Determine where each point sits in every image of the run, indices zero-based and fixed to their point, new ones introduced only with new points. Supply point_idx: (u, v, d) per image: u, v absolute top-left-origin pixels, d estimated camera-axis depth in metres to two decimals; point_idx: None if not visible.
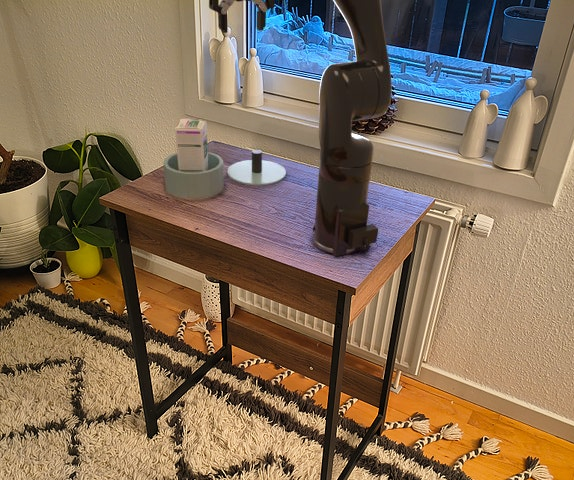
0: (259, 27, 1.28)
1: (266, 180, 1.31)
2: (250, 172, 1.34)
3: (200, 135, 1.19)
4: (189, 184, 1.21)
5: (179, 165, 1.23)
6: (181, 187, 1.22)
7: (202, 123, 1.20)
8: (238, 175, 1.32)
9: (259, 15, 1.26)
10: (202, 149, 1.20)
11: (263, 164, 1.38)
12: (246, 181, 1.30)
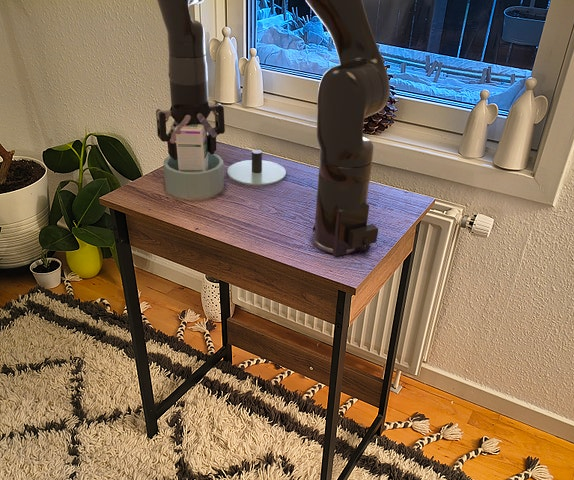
0: (210, 151, 1.25)
1: (266, 180, 1.31)
2: (250, 172, 1.34)
3: (200, 135, 1.19)
4: (189, 184, 1.21)
5: (179, 165, 1.23)
6: (181, 187, 1.22)
7: None
8: (238, 175, 1.32)
9: (209, 140, 1.24)
10: (202, 149, 1.20)
11: (263, 164, 1.38)
12: (246, 181, 1.30)
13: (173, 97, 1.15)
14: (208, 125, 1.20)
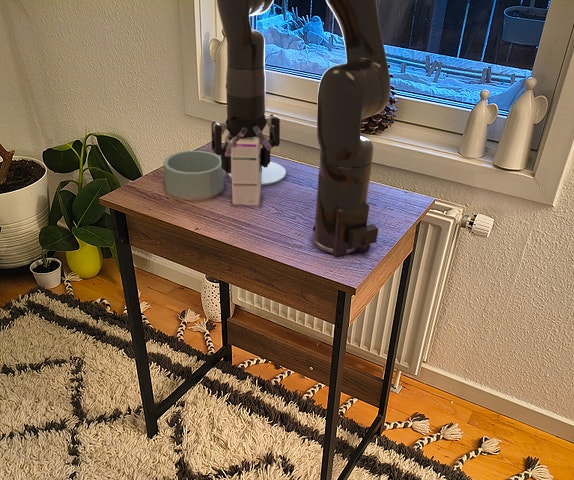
0: (263, 164, 1.21)
1: (266, 180, 1.31)
2: None
3: (256, 148, 1.15)
4: (189, 184, 1.21)
5: (233, 179, 1.19)
6: (181, 187, 1.22)
7: None
8: None
9: (263, 153, 1.20)
10: (257, 162, 1.17)
11: None
12: None
13: (230, 110, 1.11)
14: (264, 138, 1.16)
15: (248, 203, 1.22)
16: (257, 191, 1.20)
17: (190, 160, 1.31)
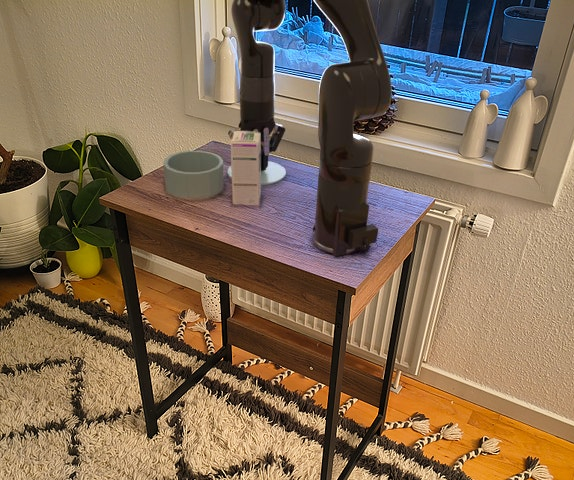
0: (262, 167, 1.34)
1: (266, 180, 1.31)
2: None
3: (256, 148, 1.15)
4: (189, 184, 1.21)
5: (233, 179, 1.19)
6: (181, 187, 1.22)
7: (257, 135, 1.17)
8: None
9: (262, 157, 1.33)
10: (257, 162, 1.17)
11: None
12: None
13: (243, 113, 1.24)
14: (267, 142, 1.30)
15: (248, 203, 1.22)
16: (257, 191, 1.20)
17: (190, 160, 1.31)
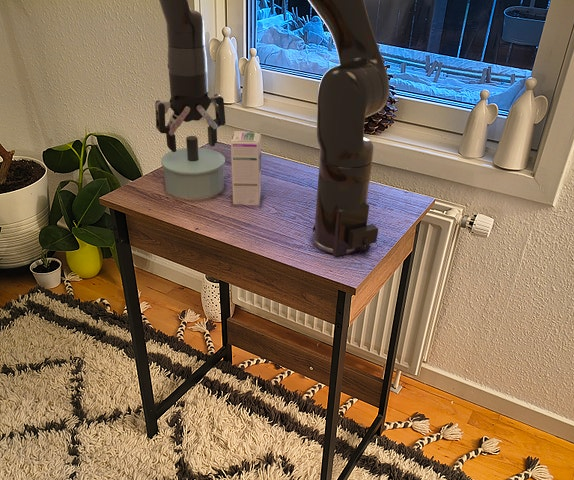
0: (210, 143, 1.24)
1: (201, 169, 1.21)
2: (186, 160, 1.24)
3: (256, 148, 1.15)
4: (189, 184, 1.21)
5: (233, 179, 1.19)
6: (181, 187, 1.22)
7: (258, 136, 1.17)
8: (172, 163, 1.22)
9: (210, 132, 1.23)
10: (258, 162, 1.17)
11: (202, 152, 1.28)
12: (179, 170, 1.20)
13: (172, 89, 1.14)
14: (208, 117, 1.19)
15: (248, 203, 1.22)
16: (257, 191, 1.20)
17: None
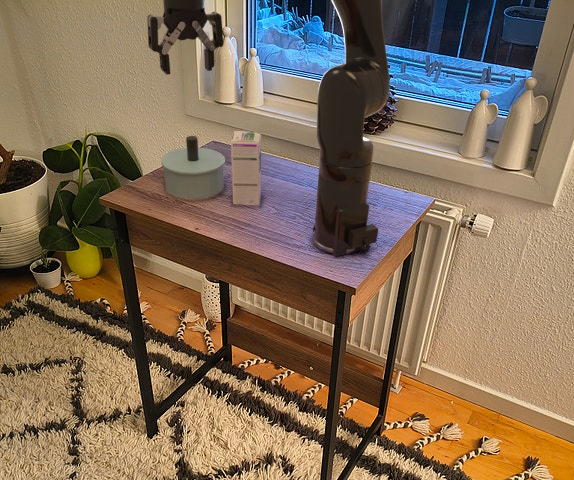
0: (207, 67, 1.15)
1: (201, 169, 1.21)
2: (186, 160, 1.24)
3: (257, 148, 1.15)
4: (189, 184, 1.21)
5: (233, 179, 1.19)
6: (181, 187, 1.22)
7: (258, 135, 1.17)
8: (172, 163, 1.22)
9: (206, 54, 1.14)
10: (258, 162, 1.17)
11: (202, 152, 1.28)
12: (179, 170, 1.20)
13: (166, 1, 1.05)
14: (205, 35, 1.10)
15: (248, 203, 1.22)
16: (257, 191, 1.20)
17: None
